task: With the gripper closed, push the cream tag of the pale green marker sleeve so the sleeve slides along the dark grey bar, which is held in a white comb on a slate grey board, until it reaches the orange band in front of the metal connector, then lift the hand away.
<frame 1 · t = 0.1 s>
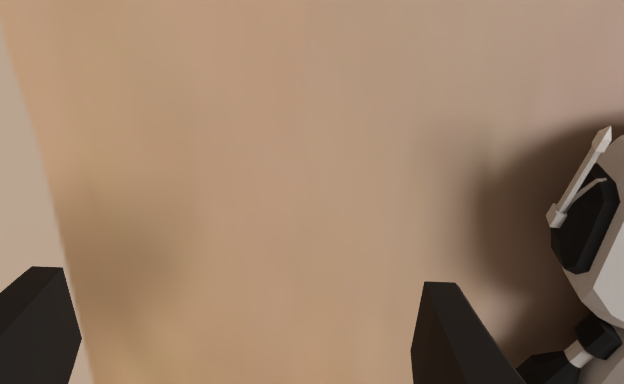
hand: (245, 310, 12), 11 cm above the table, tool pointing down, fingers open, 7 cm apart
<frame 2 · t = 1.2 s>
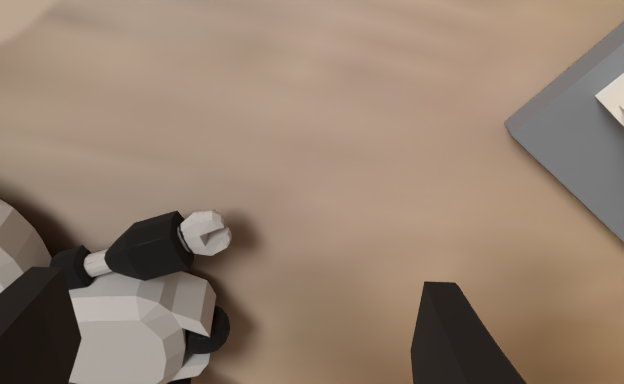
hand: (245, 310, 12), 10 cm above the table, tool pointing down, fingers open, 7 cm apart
robot toy: (62, 270, 25), on the table
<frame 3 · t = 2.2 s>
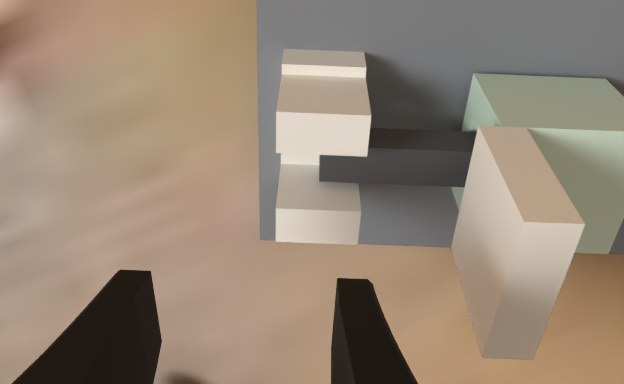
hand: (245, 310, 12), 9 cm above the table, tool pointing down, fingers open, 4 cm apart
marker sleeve: (551, 200, 16), point 5 cm above the table, slide at 0.0 cm
board: (615, 120, 20), on the table
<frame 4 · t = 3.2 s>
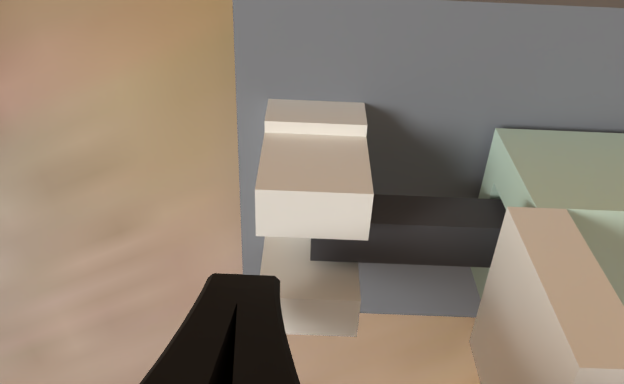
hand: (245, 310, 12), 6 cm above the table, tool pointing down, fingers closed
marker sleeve: (595, 293, 13), point 5 cm above the table, slide at 0.0 cm
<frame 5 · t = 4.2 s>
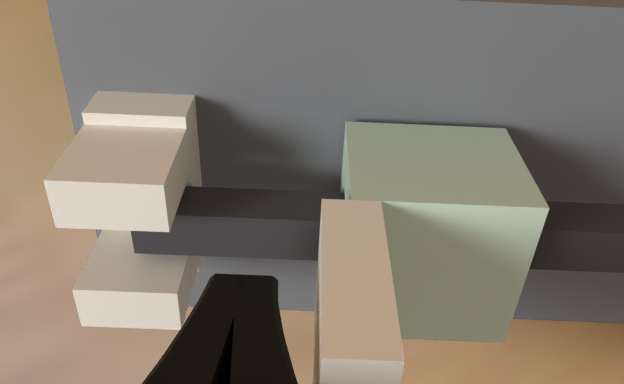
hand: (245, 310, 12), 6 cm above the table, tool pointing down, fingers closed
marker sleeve: (423, 286, 13), point 5 cm above the table, slide at 0.5 cm, touching gripper
board: (513, 169, 17), on the table
dark grey bar: (546, 235, 14), point 2 cm above the table
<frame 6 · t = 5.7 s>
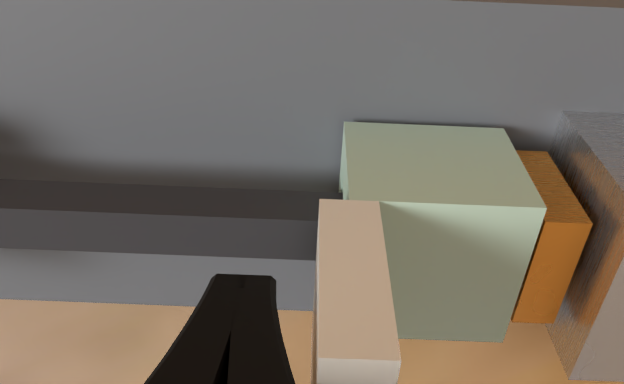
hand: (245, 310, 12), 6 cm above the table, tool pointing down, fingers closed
connector: (620, 243, 14), point 3 cm above the table
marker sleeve: (421, 286, 13), point 5 cm above the table, slide at 7.5 cm, touching gripper
board: (266, 159, 17), on the table
dark grey bar: (257, 223, 14), point 2 cm above the table
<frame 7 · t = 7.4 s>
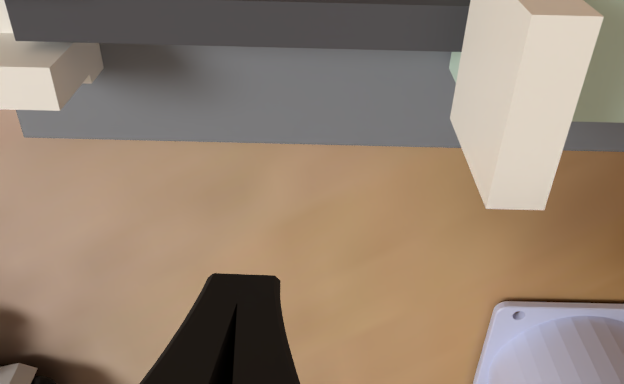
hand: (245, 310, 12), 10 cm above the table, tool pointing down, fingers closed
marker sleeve: (561, 51, 14), point 5 cm above the table, slide at 7.6 cm
dark grey bar: (395, 20, 15), point 2 cm above the table
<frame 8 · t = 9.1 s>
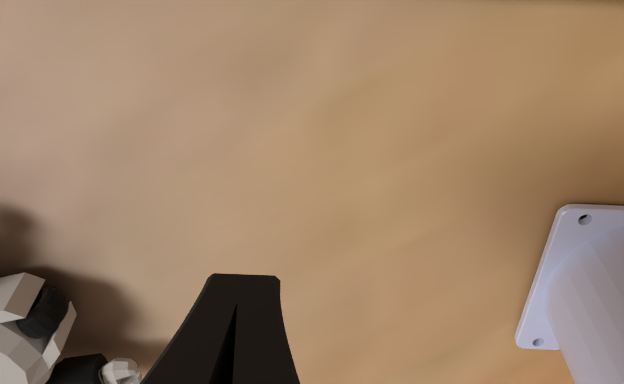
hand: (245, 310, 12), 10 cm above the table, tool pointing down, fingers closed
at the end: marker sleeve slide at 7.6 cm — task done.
